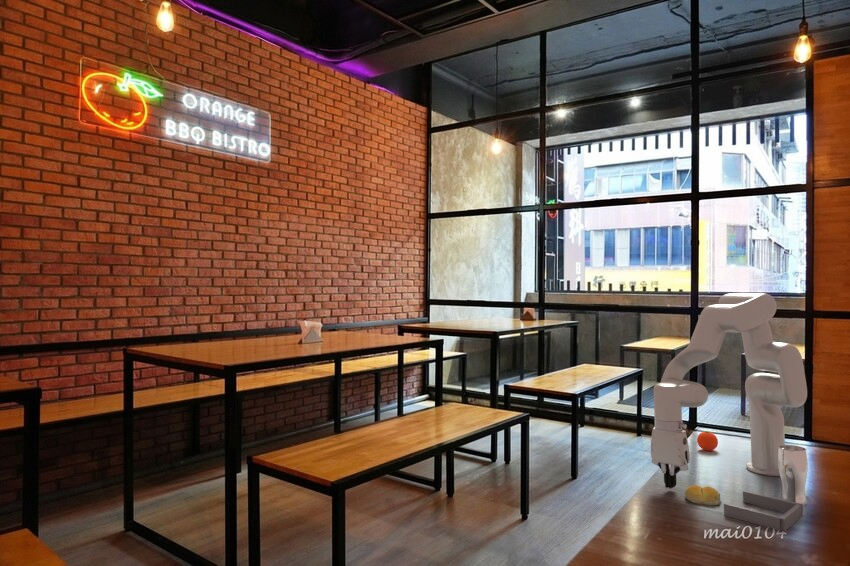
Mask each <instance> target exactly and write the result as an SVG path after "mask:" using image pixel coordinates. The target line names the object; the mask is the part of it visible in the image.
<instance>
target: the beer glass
mask: <svg viewBox="0 0 850 566" xmlns="http://www.w3.org/2000/svg"><path fill="white" fill-rule="evenodd" d="M808 460H809V459H808V454H807V448H805V447H803V446H801V445H800V446H799V445H794V444H785V445H779V446H778V467H779V473H780V476H779V477H780V481H781V486H782V490H781V491H782V492H781V497H780V499H783V500H787V501H791V502H796V503H800V504H802V507H803V505H805V506H807V505H808V500H807V495H806V486H807V478H808V470H809V463H808Z"/></svg>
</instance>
